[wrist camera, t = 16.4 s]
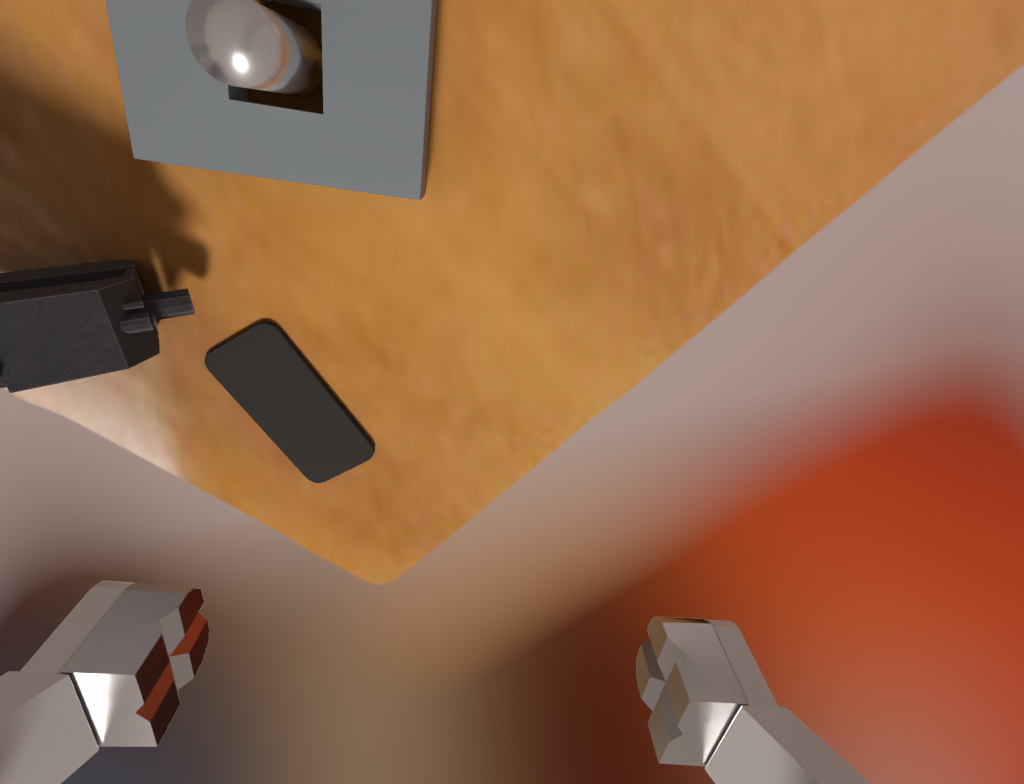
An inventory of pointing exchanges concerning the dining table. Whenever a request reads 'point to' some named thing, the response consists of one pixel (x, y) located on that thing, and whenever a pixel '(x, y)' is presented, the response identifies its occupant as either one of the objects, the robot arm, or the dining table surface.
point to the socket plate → (282, 130)
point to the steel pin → (253, 46)
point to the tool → (79, 322)
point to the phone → (290, 402)
